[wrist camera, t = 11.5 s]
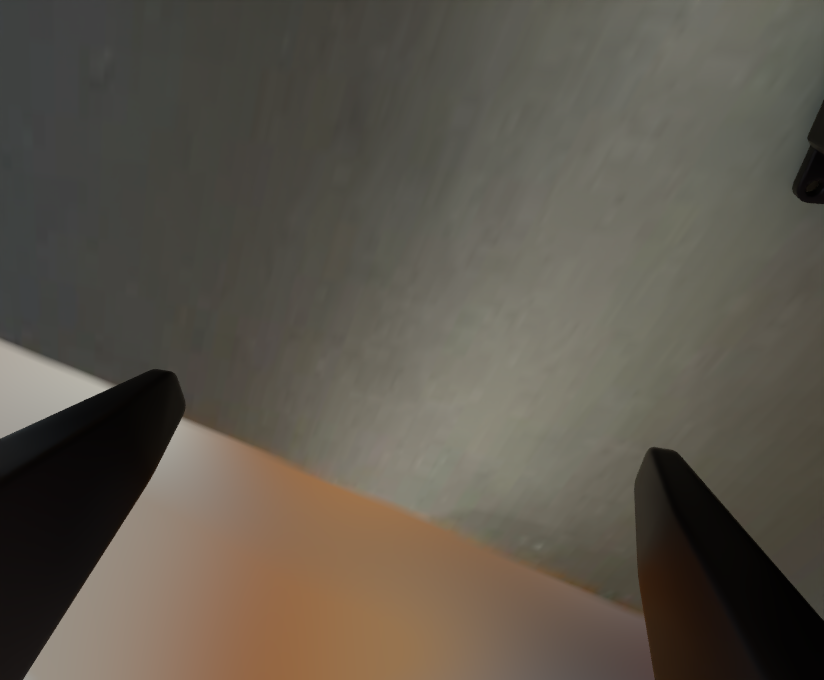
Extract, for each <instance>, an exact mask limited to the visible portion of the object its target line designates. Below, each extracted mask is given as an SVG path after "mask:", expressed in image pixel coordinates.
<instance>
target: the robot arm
mask: <svg viewBox="0 0 824 680" xmlns="http://www.w3.org/2000/svg"><path fill="white" fill-rule="evenodd" d="M808 141H809V142H810V144H811V146H810V148H809V150H808V152H807V155H806V157H805V159H804V161H803V163H802V166H801V168H800V170H799V172H798V174H797V177H796V179H795V181H794V184H793V188H792V189H793V193H794V194H795V195H796V196H797V197H798V198H799V199H800V200H801V201H803V202H807V203H817V204H824V101H823V103H822V105H821V108H820V110H819V112H818V114H817V117H816V119H815V121H814V123H813V126H812V128H811V130H810V132H809V135H808ZM817 180H819V185H818V186H817V187H816V189H814V190H812V191H808V192H806V187H807V186H808V185H809V184H810V183H811V182H813V181H817ZM185 406H186V405H185V399H184V396H183V393H182V390H181V387H180V384H179V381H178V378H177V376H176V375H175V374H174V373H173V372H171V371H165V370H159V369H153V370H150V371H148V372H145V373H143V374H141V375H139V376H137V377H134V378H132V379H130V380H128V381H126V382H123V383H121V384H119V385H117V386H115V387H113V388H110V389H108V390H106V391H104V392H102V393H99V394H97V395H95V396H93V397H91V398H89V399H86V400H84V401H82V402H80V403H78V404H75V405H73V406H71V407H69V408H67V409H65V410H62V411H60V412H58V413H56V414H53V415H51V416H49V417H47V418H45V419H43V420H40V421H38V422H36V423H34V424H32V425H29V426H28V427H25V428H23V429H21V430H19V431H16V432H14V433H12V434H10V435H8V436H5V437H3V438H1V439H0V680H23V679H24V677H25V675H26V674H27V672H28V671H29V669H30V668H31V666H32V665H33V663H34V661H35V660H36V658H37V657H38V655H39V654H40V652H41V650H42V649H43V647H44V646H45V644H46V643H47V641H48V640H49V638H50V636H51V635H52V633H53V632H54V630H55V629H56V627H57V625H58V624H59V622H60V621H61V619H62V617H63V616H64V614H65V613H66V611H67V610H68V608H69V607H70V605H71V603H72V602H73V600H74V599H75V597H76V596H77V594H78V592H79V591H80V589H81V588H82V586H83V585H84V583H85V581H86V580H87V578H88V577H89V575H90V574H91V572H92V571H93V569H94V567H95V566H96V564H97V563H98V561H99V559H100V558H101V556H102V555H103V553H104V552H105V550H106V549H107V547H108V545H109V544H110V542H111V541H112V539H113V538H114V536H115V534H116V533H117V531H118V529H119V528H120V527H121V525H122V523H123V522H124V520H125V519H126V517H127V515H128V514H129V512H130V511H131V509H132V508H133V506H134V505H135V503H136V501H137V500H138V498H139V497H140V495H141V494H142V492H143V490H144V489H145V487H146V486H147V484H148V482H149V481H150V479H151V477H152V475H153V473H154V472H155V470H156V468H157V466H158V464H159V462H160V460H161V458H162V456H163V454H164V452H165V450H166V448H167V446H168V444H169V442H170V440H171V438H172V436H173V434H174V432H175V430H176V428H177V426H178V424H179V422H180V420H181V418H182V416H183V414H184V411H185ZM634 495H635V519H636V543H637V565H638V577H639V585H640V592H641V598H642V604H643V610H644V616H645V622H646V628H647V635H648V641H649V647H650V653H651V659H652V665H653V671H654V677H655V680H824V621H823V619H822V618H821V617H820V616H819V615H818V614H817V613H816V611H815V610H814V609H813V608H812V607H811V606H810V604H809V603H808V602H807V601H806V600H805V599H804V598H803V596H802V595H801V594H800V593H799V592H798V591H797V589H796V588H795V587H794V586H793V585H792V584H791V583H790V581H789V580H788V579H787V578H786V577H785V576H784V574H783V573H782V572H781V571H780V570H779V569H778V568H777V566H776V565H775V564H774V563H773V562H772V561H771V559H770V558H769V557H768V556H767V555H766V554H765V553H764V551H763V550H762V549H761V548H760V547H759V546H758V545H757V543H756V542H755V541H754V540H753V539H752V538H751V536H750V535H749V534H748V533H747V532H746V531H745V530H744V528H743V527H742V526H741V525H740V524H739V523H738V521H737V520H736V519H735V518H734V517H733V516H732V515H731V513H730V512H729V511H728V510H727V509H726V508H725V506H724V505H723V504H722V503H721V502H720V501H719V500H718V498H717V497H716V496H715V495H714V494H713V493H712V491H711V490H710V489H709V488H708V487H707V486H706V485H705V483H704V482H703V481H702V480H701V479H700V478H699V477H698V475H697V474H696V473H695V472H694V471H693V470H692V468H691V467H690V466H689V465H688V464H687V463H686V462H685V460H684V459H683V458H682V457H681V456H680V455H679V454H678V453H677V452H676V451H674V450H670V449H663V448H657V447H651V448H649V449H648V451H647V452H646V454H645V457H644V459H643V462H642V464H641V467H640V469H639V472H638V474H637V477H636V480H635V487H634Z"/></svg>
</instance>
